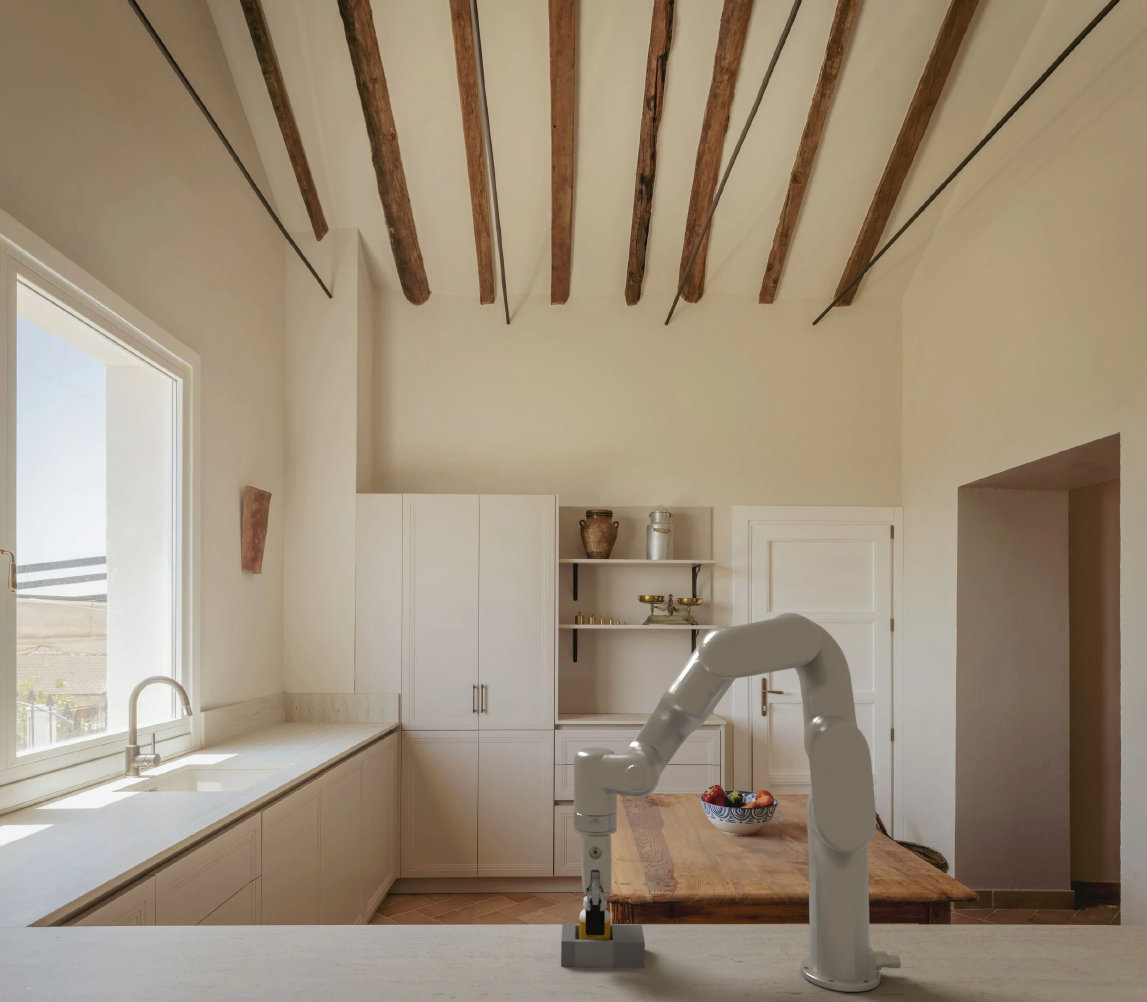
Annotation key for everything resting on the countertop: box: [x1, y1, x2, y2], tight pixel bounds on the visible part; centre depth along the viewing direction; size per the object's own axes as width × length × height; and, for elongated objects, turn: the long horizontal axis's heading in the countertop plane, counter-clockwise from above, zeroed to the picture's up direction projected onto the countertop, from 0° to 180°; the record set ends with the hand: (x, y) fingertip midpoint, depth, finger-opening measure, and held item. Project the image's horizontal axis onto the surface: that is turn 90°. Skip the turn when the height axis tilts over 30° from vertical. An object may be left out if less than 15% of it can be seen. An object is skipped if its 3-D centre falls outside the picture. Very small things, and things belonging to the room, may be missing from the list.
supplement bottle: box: [578, 895, 611, 940], centre depth 153 cm, size 5×5×10 cm
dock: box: [560, 923, 646, 969], centre depth 153 cm, size 14×8×4 cm, turn 89°
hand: (594, 923), depth 153 cm, fingers open, 9 cm apart
